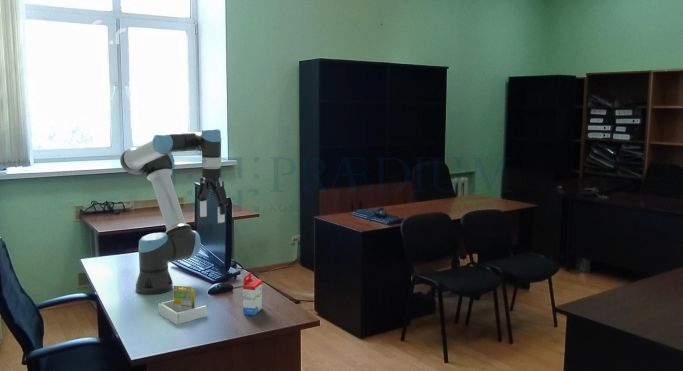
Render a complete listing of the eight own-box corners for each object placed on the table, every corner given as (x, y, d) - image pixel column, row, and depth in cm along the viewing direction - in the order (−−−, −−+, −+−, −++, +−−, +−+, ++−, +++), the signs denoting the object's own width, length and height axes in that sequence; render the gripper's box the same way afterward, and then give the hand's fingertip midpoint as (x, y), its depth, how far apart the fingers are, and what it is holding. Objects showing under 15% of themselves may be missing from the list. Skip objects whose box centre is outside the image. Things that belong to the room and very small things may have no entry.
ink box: (254, 315, 221) (254, 279, 219) (242, 314, 222) (242, 277, 219) (262, 308, 229) (262, 272, 227) (250, 306, 230) (250, 271, 228)
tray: (158, 313, 221) (158, 303, 220) (188, 305, 229) (188, 296, 229) (176, 324, 211) (176, 314, 210) (206, 316, 219) (206, 306, 219)
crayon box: (195, 313, 222) (194, 284, 220) (191, 316, 219) (191, 287, 217) (177, 312, 223) (176, 283, 221) (173, 315, 220) (173, 285, 218)
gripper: (187, 164, 238) (188, 215, 241) (220, 171, 220) (220, 226, 224) (203, 163, 243) (204, 213, 247) (237, 170, 226) (237, 223, 229)
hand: (212, 219), depth 235 cm, fingers open, 13 cm apart
